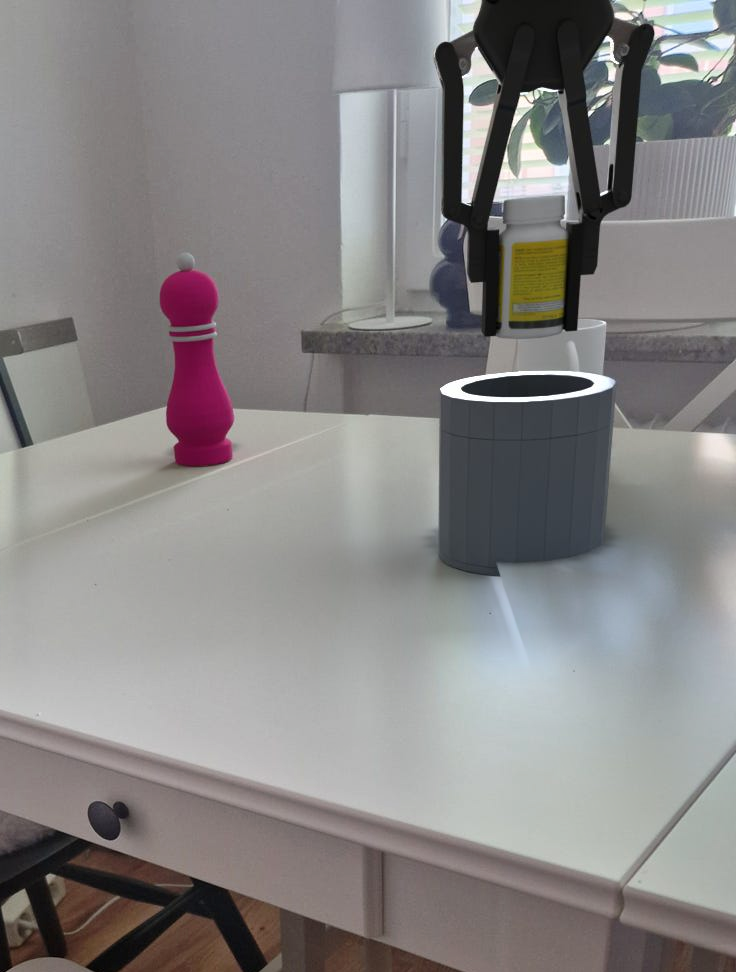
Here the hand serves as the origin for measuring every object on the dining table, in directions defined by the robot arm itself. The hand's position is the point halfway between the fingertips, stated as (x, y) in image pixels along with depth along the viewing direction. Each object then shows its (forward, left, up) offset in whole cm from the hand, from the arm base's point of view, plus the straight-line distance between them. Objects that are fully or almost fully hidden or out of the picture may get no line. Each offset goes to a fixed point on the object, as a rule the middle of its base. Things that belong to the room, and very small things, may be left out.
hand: (528, 330), depth 81 cm
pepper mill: (+29, -39, -16) cm, 51 cm away
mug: (-7, -30, -16) cm, 35 cm away
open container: (0, 0, -16) cm, 16 cm away
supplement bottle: (0, 0, -1) cm, 1 cm away
